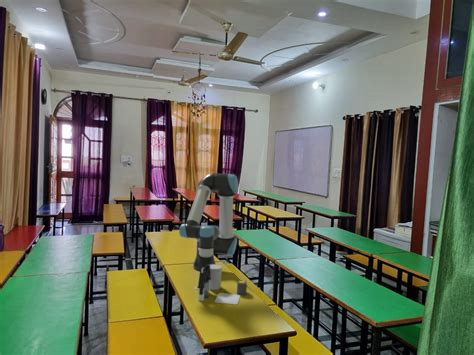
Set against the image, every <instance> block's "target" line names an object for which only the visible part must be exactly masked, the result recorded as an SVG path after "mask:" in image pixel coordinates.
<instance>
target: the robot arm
mask: <svg viewBox="0 0 474 355" xmlns="http://www.w3.org/2000/svg"><path fill="white" fill-rule="evenodd" d="M212 192H217V196H218V197H219V227H218V226H217V225H200V223H201V220H202V216H203V214H204V211H205V208H206V205H207V202H208V198H209V197H210V195H211V194H212ZM238 192H239V179H238V176H237V175H236V174H231V173H216V172H213V173H212V172H211V173H208V174H207V175H205V176H203V177H202V179H201V180H200V181H199V182H198V184H197V186H196V194H195V197H194V200H193V203H192V205H191V209H190V211H189V214H188V217H187V220H186V222H185V223H182V224H181V225H180V226H179V231H178V233H179V236H180V237H181V238H186V239H194V240H195V239H196V256H195V259H194V261H193V266H192V268H193V269H194V270H196V271H199V275H198V276H199V278H198V286H196V287H197V288H199V289H198V301H201V302H202V301H204V300H205V298H204V284H205V279H206V280H211V278H210V277H211V276H210V265H212V264H215V265H217V264H216V261H215V260H216V259H215V257H214V256H215V255H214V254H218V255H225V256H232V255H235V251H236V248H237V244H238V238H237V237H235V236H236V235H235V233H234V232H233V223H234V222H233V218H234V217H233V216H234V197H235V196H236V194H237V193H238Z"/></svg>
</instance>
